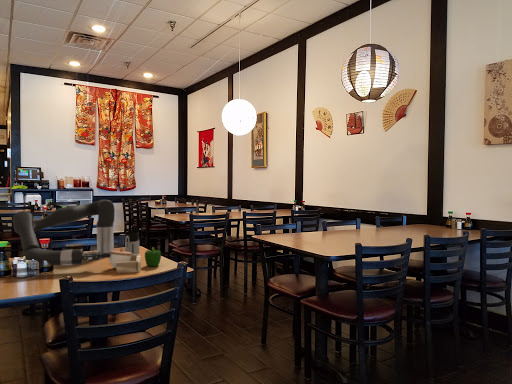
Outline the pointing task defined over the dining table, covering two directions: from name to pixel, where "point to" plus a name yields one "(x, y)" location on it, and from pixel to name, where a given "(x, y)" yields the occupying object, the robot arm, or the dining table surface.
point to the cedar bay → (129, 265)
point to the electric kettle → (132, 242)
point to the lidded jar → (119, 257)
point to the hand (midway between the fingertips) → (110, 255)
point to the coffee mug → (75, 246)
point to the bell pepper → (152, 257)
